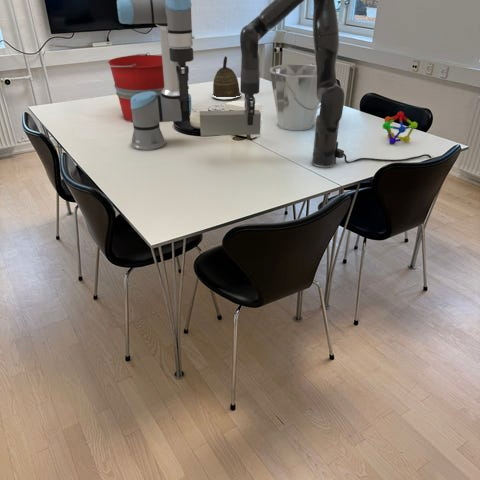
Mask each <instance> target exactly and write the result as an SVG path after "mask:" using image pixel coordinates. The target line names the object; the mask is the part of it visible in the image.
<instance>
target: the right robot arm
mask: <svg viewBox="0 0 480 480" xmlns="http://www.w3.org/2000/svg"><path fill="white" fill-rule="evenodd" d="M303 2H305V0H273V1H272V2H270V3H269V4H268V5H267V6H266V7H265V8H264V9H263V10H261V12H260V13H259V15H257V16H256V17H255V18H253V20H252V21H250V22H249V23H248V24H246V25H245V26H243V27H242V29H241V31H240V34H239V45H240V52H241V59H240V60H241V61H240V62H241V63H240V64H241V65H240V67H241V68H240V84H239V91H240V93H241V94H243V95H244V97H243V99H244V110H247V116H248V121H247V124H248V125H253V116H254V115H255V113H254V112H255V110H256V98H255V96H254V95H257V94H259V93H260V84H261V83H260V81H261V78H260V77H261V74H260V73H261V71H260V59H261V58H260V53H259V42H260V41H261V40H262V38H263V37H265V36H266V34H267V33H268V32H270V31H271V30H272V29H274V28H276V27H277V25H279V24H280V23H281V22H282V21H284V20H285V19H286V18H287V17H288V16H289V15H290V14H291V13H292V12H293V11H295V9H296V8H298V7H299V6H300V5H301V4H302V3H303ZM336 8H337V7H336V2H335V0H313V12H312V13H313V14H312V38H313V49H314V50H313V51H314V60H315V66H316V67H317V98H318V101H319V102H320V105H321V106H320V105H319V106H320V108H319V114H318V115H316V117H315V129H314V139H313V141H314V142H313V148H312V160H311V165H312V166H314V167H316V168H322V169H328V168H332V167H334V166H335V165H336V163H337V159H342V158H344V162H345V163H346V164H352V163H356V162H358V161H374V162H375V161H376V162H406V161H411V160H414V159H420V158H423V157H428V158H430V159H432V156H431V155H430V154H427V153H426V154H425V153H423V154H420V155H417V156H411V157H408V158H401V159H390V158H389V159H386V158H375V157H373V158H372V157H359V158H356V159H355V160H352V161H348V160H347V154H345V150H343V149H341V148H339V142H338V133H339V126H340V122H341V120H342V117H343V111H344V105H345V90H344V89H343V88H342V87H341V86H340V85H338V81H337V74H336V73H337V72H336V64H337V59H338V54H339V49H340V32H339V30H340V29H339V21H338V14H337V9H336ZM250 110H252V113H250Z"/></svg>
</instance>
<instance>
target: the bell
mask: <svg viewBox="0 0 480 480" xmlns="http://www.w3.org/2000/svg"><path fill="white" fill-rule="evenodd" d="M227 63H228V57H227V56H224V58H223V63H222V67H221V68H219V69H218V70H217V71H216V73H215V75H214V78H213V81H212V83H213V84H212V95H214V96H216V97H236V96H240V95H241V96H242V93H241V91H240V83H239V80H238V79H239V78H238V77H237V75H236V73H235V72H234V70H232V69H231V68H230V67H227Z"/></svg>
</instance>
